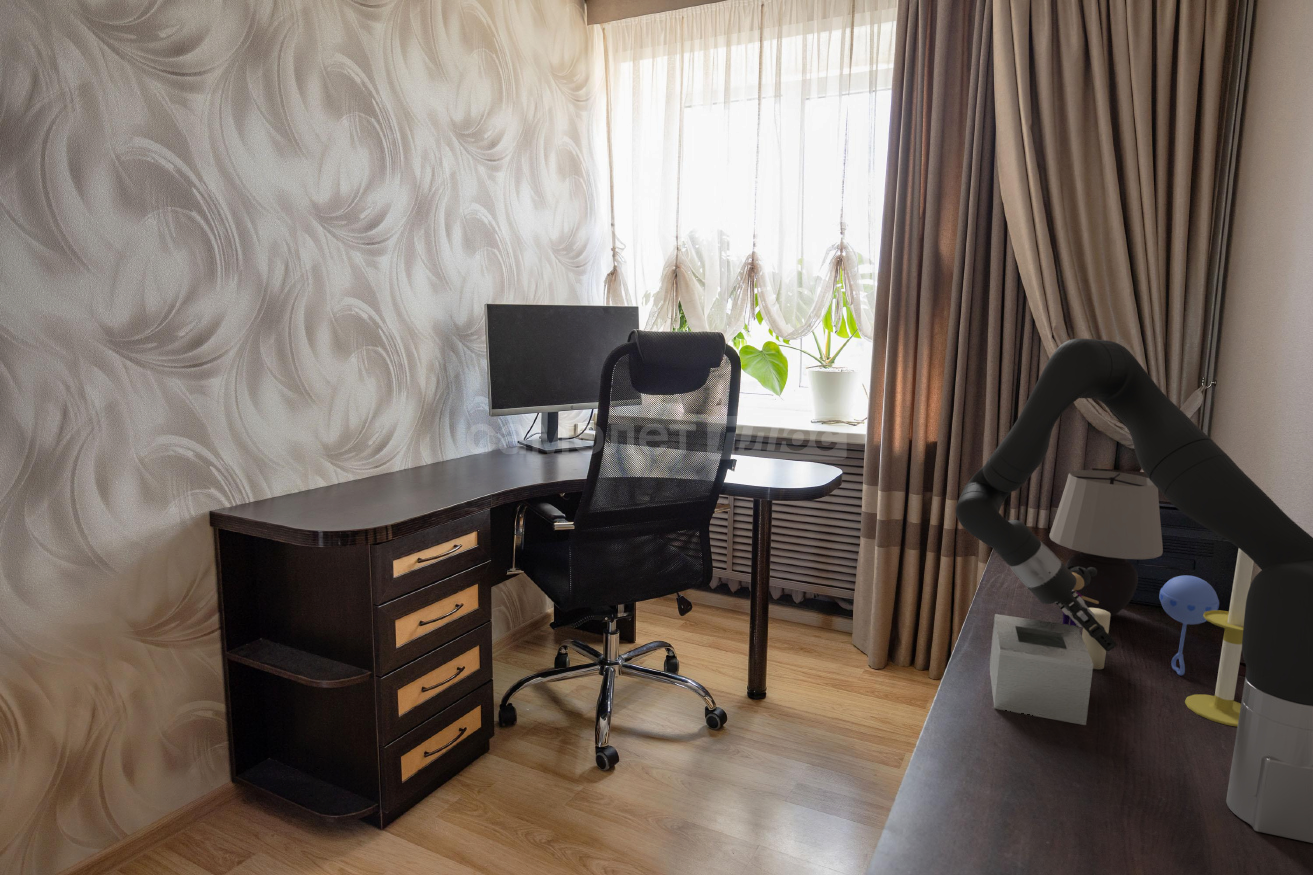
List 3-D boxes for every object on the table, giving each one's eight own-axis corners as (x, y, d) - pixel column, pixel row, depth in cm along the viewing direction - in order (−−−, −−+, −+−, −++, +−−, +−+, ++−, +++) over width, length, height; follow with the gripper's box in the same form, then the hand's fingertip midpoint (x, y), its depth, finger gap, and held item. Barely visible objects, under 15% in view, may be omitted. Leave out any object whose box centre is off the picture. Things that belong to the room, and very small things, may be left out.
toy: (1037, 631, 155) (1045, 559, 153) (1055, 627, 158) (1063, 556, 155) (1086, 652, 146) (1095, 575, 144) (1104, 647, 149) (1114, 572, 146)
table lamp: (1171, 638, 153) (1192, 490, 149) (1059, 628, 157) (1076, 483, 152) (1128, 601, 174) (1145, 470, 169) (1029, 593, 177) (1043, 464, 172)
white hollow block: (1085, 725, 119) (1093, 664, 118) (994, 708, 124) (1000, 649, 122) (1070, 680, 134) (1077, 625, 133) (989, 667, 139) (994, 613, 137)
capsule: (1106, 670, 139) (1112, 617, 137) (1080, 666, 140) (1087, 613, 138) (1101, 661, 142) (1108, 609, 141) (1077, 657, 144) (1083, 606, 142)
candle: (1205, 723, 121) (1236, 521, 116) (1172, 693, 131) (1199, 505, 125) (1276, 730, 120) (1310, 526, 114) (1237, 698, 129) (1267, 509, 124)
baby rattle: (1217, 687, 133) (1232, 587, 130) (1161, 681, 135) (1175, 582, 132) (1194, 665, 142) (1207, 571, 139) (1141, 660, 143) (1154, 566, 140)
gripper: (1072, 571, 132) (1140, 644, 132) (1046, 547, 146) (1107, 613, 146) (1035, 598, 134) (1102, 670, 134) (1013, 571, 148) (1074, 637, 148)
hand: (1105, 640), depth 140 cm, fingers open, 5 cm apart
